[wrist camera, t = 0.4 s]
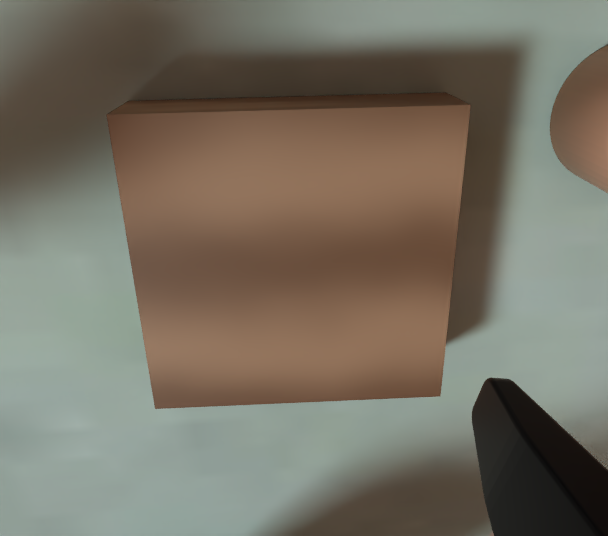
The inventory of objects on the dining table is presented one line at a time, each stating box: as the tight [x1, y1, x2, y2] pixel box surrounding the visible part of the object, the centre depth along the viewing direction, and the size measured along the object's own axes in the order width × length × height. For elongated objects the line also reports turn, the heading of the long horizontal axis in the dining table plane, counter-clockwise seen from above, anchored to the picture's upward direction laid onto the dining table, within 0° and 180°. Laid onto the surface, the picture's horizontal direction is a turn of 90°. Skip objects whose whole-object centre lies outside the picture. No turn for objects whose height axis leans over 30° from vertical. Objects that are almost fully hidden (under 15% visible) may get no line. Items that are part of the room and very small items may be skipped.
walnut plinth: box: [107, 92, 471, 409], centre depth 22 cm, size 12×12×3 cm
